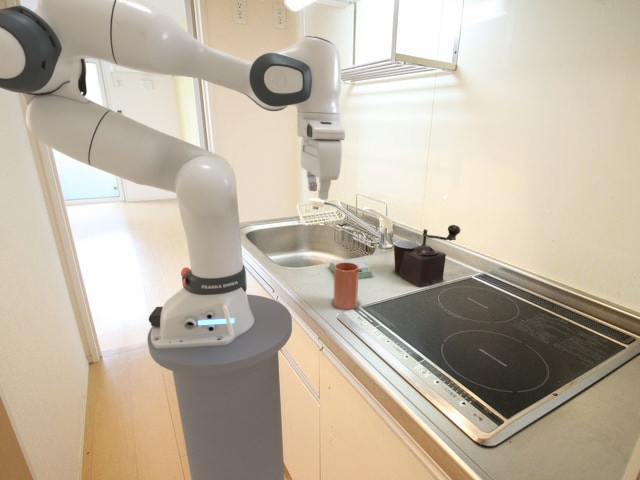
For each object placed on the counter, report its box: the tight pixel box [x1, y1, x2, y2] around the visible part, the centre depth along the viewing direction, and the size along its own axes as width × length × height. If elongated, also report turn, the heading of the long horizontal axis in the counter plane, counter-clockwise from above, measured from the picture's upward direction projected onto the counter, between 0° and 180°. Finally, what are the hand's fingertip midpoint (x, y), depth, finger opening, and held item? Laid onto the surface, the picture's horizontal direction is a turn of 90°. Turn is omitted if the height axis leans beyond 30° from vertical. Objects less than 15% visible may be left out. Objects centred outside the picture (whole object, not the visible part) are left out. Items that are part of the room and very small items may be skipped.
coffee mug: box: [393, 239, 421, 276], centre depth 121 cm, size 12×9×10 cm
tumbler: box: [333, 262, 359, 310], centre depth 98 cm, size 6×6×11 cm
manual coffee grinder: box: [398, 224, 462, 288], centre depth 116 cm, size 16×11×18 cm
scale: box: [329, 258, 373, 279], centre depth 121 cm, size 11×11×3 cm
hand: (317, 194), depth 80 cm, fingers open, 8 cm apart
